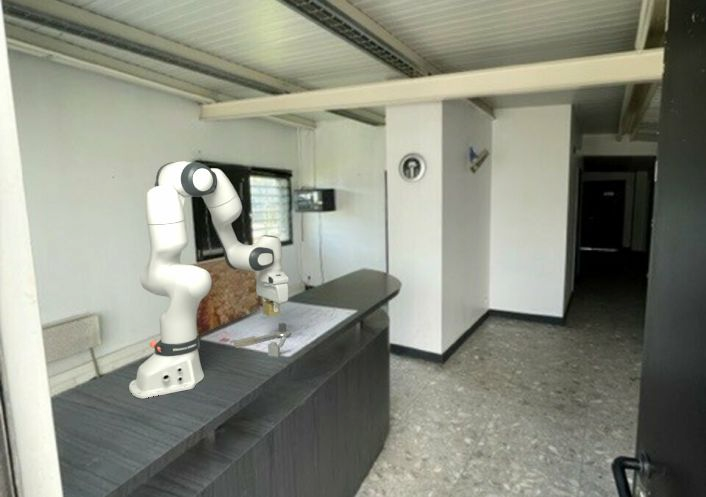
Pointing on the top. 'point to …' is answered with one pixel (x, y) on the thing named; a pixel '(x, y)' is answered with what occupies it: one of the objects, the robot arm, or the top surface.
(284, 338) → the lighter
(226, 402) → the top surface
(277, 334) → the ratchet
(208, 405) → the top surface
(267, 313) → the socket
